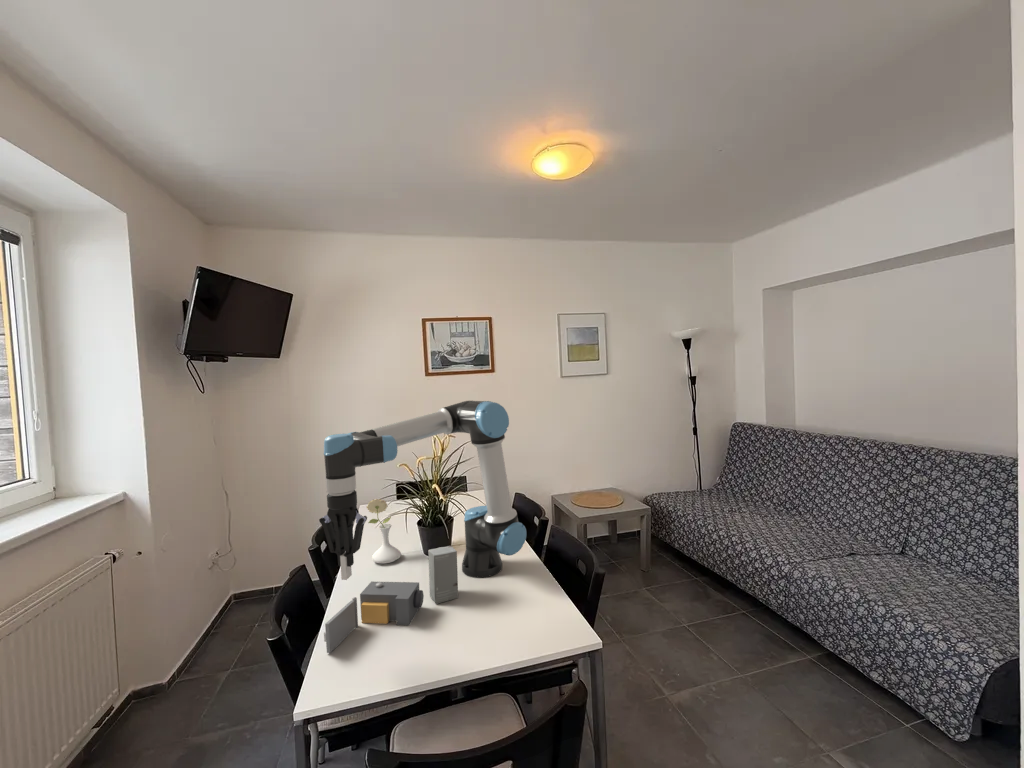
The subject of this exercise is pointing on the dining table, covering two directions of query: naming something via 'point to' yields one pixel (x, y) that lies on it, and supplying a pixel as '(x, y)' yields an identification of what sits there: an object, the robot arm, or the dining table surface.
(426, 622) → the dining table surface
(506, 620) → the dining table surface
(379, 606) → the housing
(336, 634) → the door
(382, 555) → the flower in vase
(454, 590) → the skincare box
